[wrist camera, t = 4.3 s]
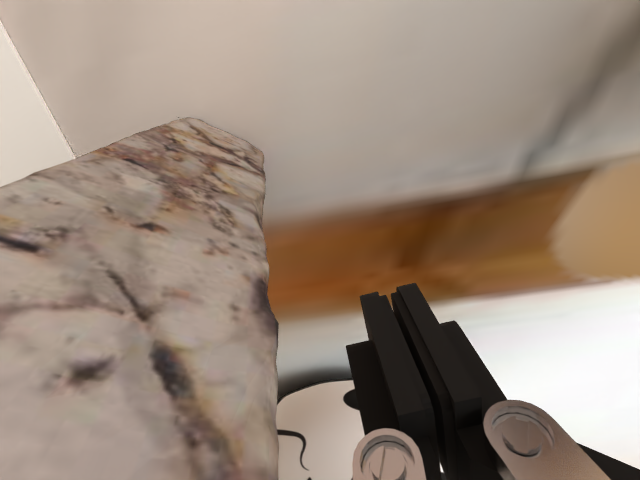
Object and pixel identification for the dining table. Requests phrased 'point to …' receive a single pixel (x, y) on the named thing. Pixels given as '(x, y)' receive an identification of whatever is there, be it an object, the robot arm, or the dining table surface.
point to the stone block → (139, 314)
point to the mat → (25, 121)
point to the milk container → (319, 431)
